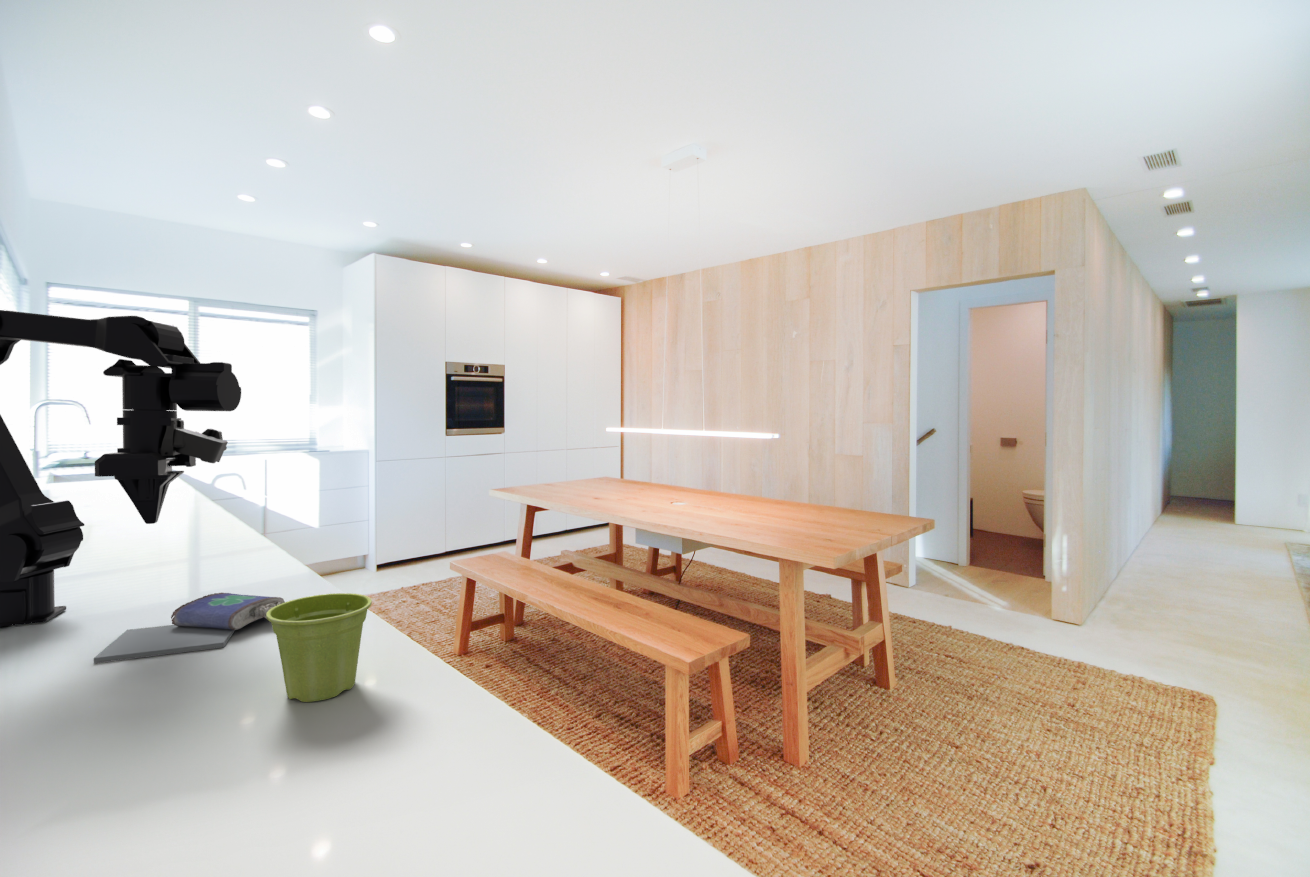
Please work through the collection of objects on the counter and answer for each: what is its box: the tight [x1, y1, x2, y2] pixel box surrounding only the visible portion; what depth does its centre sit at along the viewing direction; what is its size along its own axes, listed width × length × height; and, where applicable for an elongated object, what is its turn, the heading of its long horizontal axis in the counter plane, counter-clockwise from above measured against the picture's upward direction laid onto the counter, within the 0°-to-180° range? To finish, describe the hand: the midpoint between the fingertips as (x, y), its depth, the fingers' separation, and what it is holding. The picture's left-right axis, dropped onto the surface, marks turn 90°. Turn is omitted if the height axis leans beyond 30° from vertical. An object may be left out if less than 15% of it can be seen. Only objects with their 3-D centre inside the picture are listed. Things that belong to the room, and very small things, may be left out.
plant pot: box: [266, 592, 372, 703], centre depth 61 cm, size 9×9×9 cm
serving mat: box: [93, 624, 236, 664], centre depth 74 cm, size 10×12×1 cm
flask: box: [170, 592, 286, 631], centre depth 80 cm, size 9×3×11 cm
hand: (151, 523), depth 82 cm, fingers closed
